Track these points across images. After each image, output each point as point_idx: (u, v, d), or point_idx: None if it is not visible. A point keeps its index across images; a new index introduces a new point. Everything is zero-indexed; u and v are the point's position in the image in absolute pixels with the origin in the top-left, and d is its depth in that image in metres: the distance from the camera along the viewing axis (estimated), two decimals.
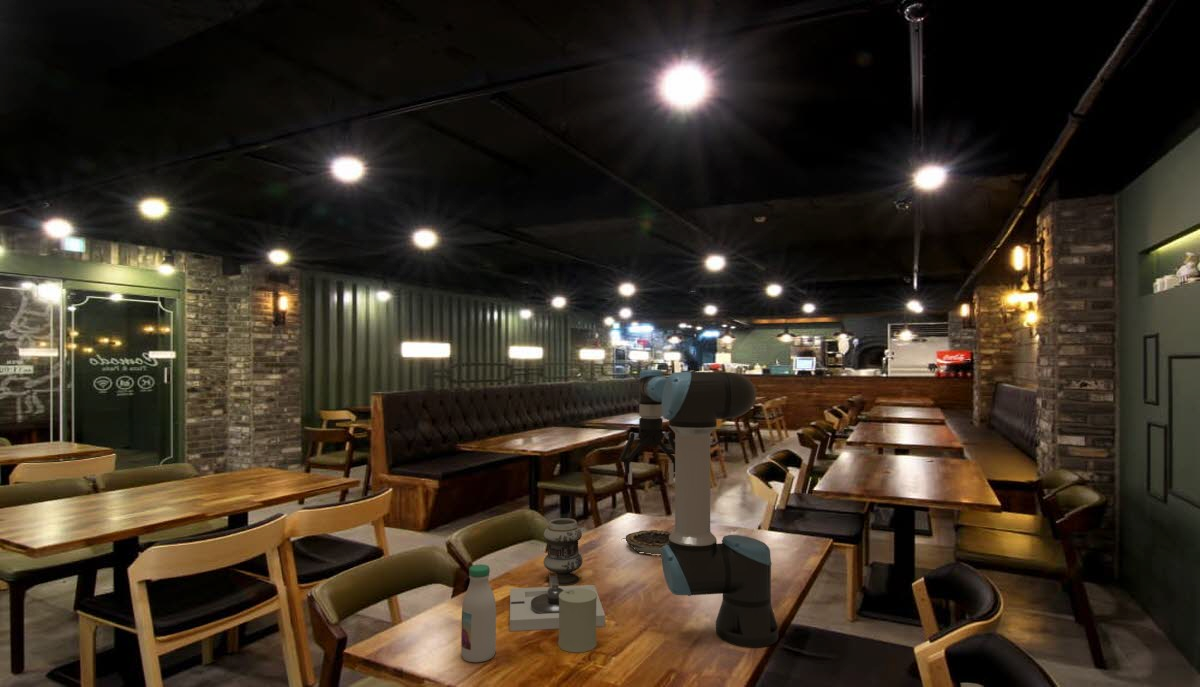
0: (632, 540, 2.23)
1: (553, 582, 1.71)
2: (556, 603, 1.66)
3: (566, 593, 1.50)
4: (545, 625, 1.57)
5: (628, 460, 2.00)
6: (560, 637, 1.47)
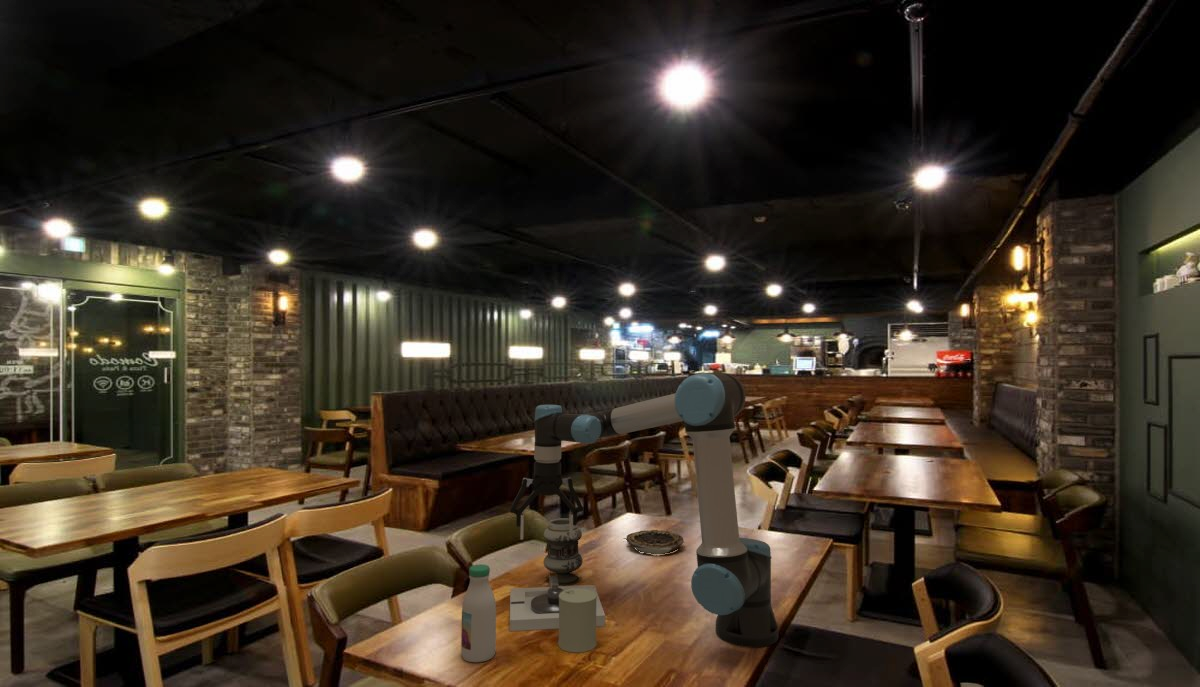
0: (633, 540, 2.23)
1: (553, 582, 1.71)
2: (556, 603, 1.66)
3: (566, 593, 1.50)
4: (545, 625, 1.57)
5: (519, 511, 1.71)
6: (560, 637, 1.47)
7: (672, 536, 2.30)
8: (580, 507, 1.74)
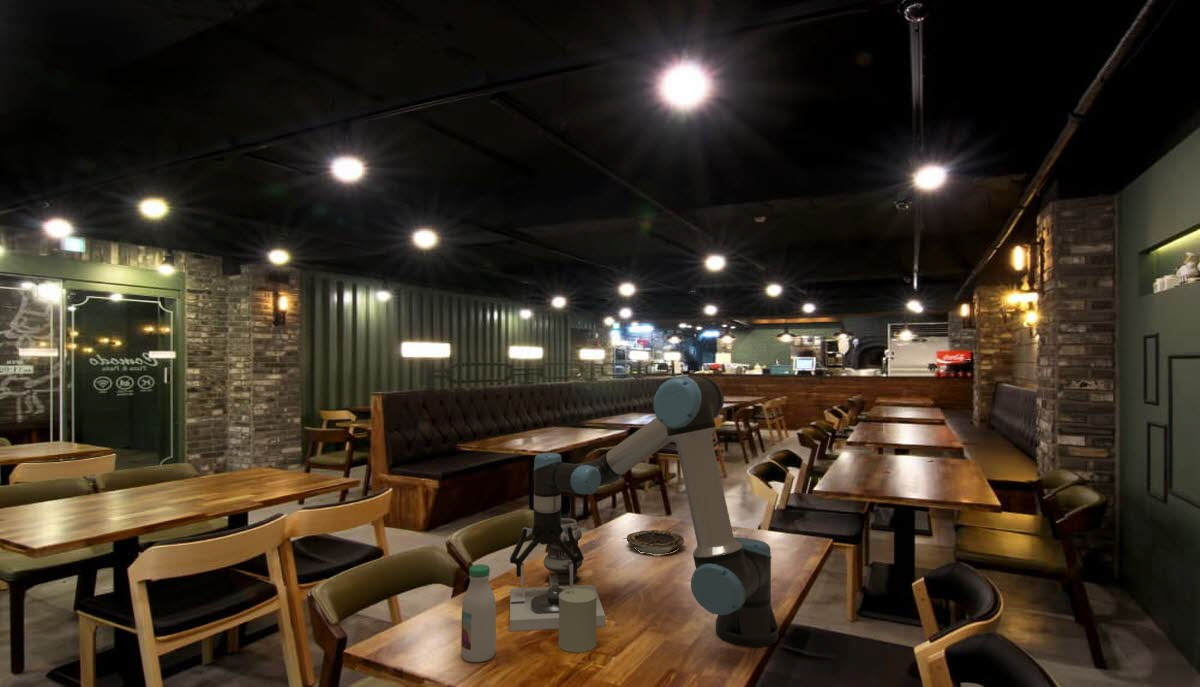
0: (633, 540, 2.23)
1: (553, 582, 1.71)
2: (556, 603, 1.66)
3: (566, 593, 1.50)
4: (545, 625, 1.57)
5: (519, 561, 1.71)
6: (560, 637, 1.47)
7: (672, 536, 2.30)
8: (580, 556, 1.73)
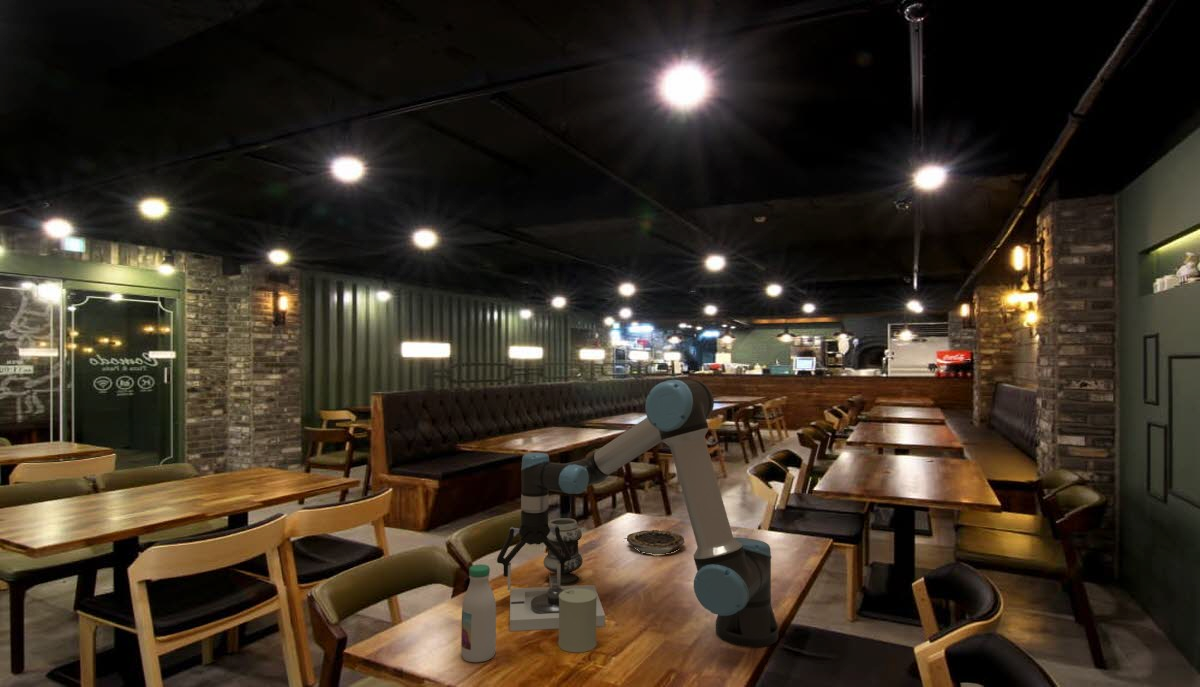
0: (633, 540, 2.23)
1: (553, 582, 1.71)
2: (556, 603, 1.66)
3: (566, 593, 1.50)
4: (545, 625, 1.57)
5: (506, 561, 1.71)
6: (560, 637, 1.47)
7: (673, 536, 2.30)
8: (567, 556, 1.73)
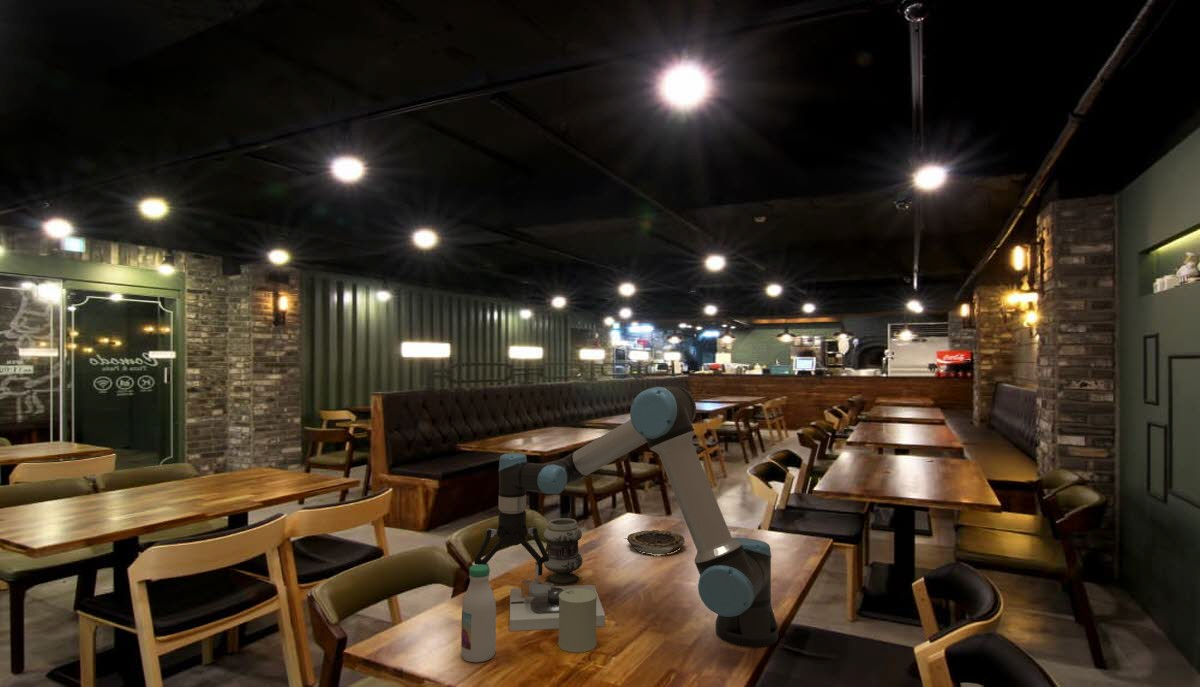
0: (634, 540, 2.23)
1: (547, 584, 1.69)
2: None
3: (566, 593, 1.50)
4: (545, 625, 1.57)
5: (483, 562, 1.70)
6: (560, 637, 1.47)
7: (673, 536, 2.29)
8: (545, 557, 1.72)
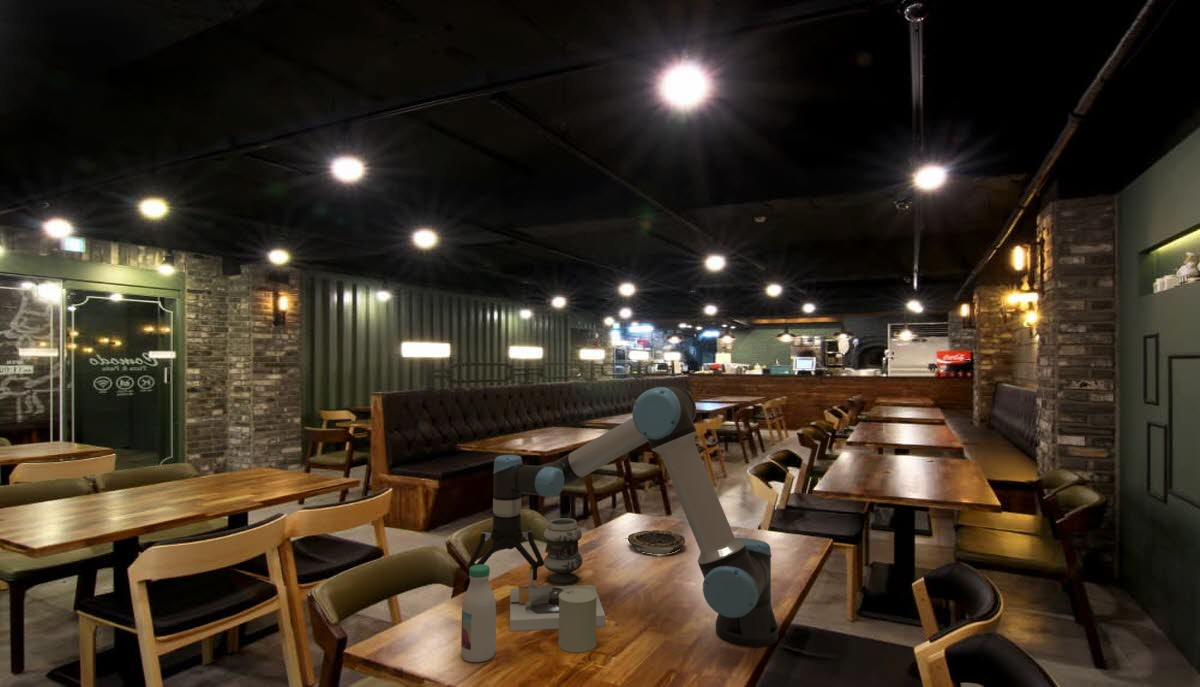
0: (634, 540, 2.23)
1: (547, 586, 1.67)
2: None
3: (566, 593, 1.50)
4: (545, 625, 1.57)
5: None
6: (560, 637, 1.47)
7: (674, 536, 2.29)
8: (540, 562, 1.68)
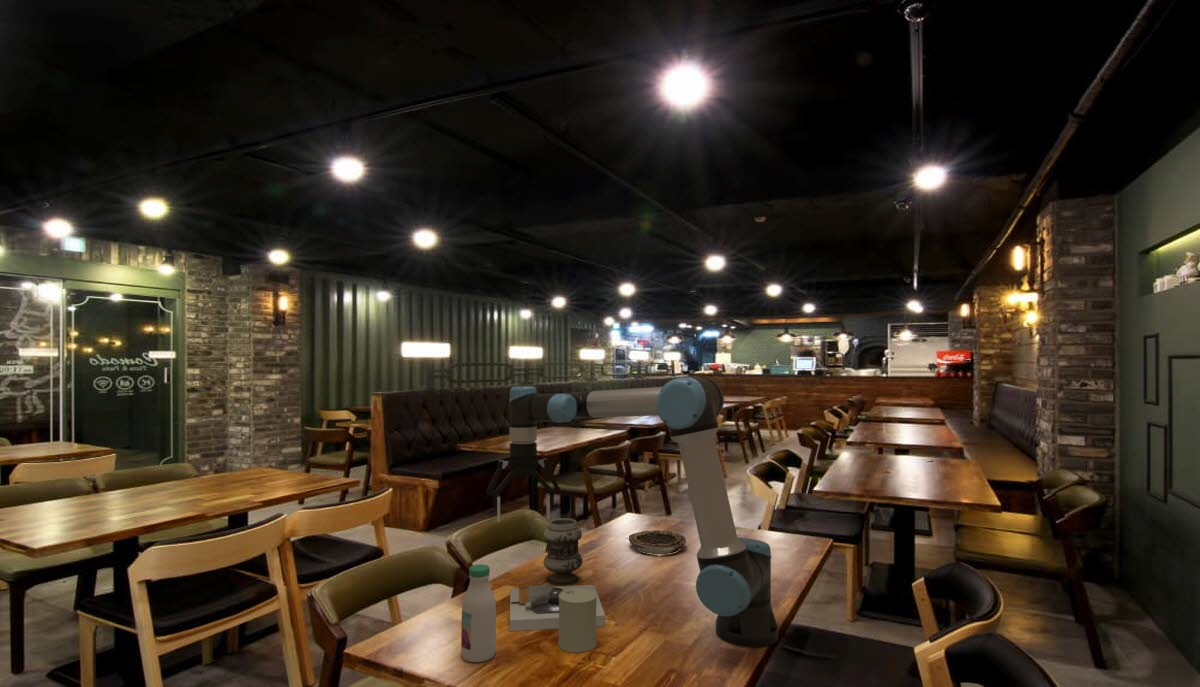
0: (635, 540, 2.23)
1: (547, 586, 1.67)
2: None
3: (566, 593, 1.50)
4: (545, 625, 1.57)
5: (495, 493, 1.71)
6: (560, 637, 1.47)
7: (674, 536, 2.29)
8: (557, 488, 1.73)
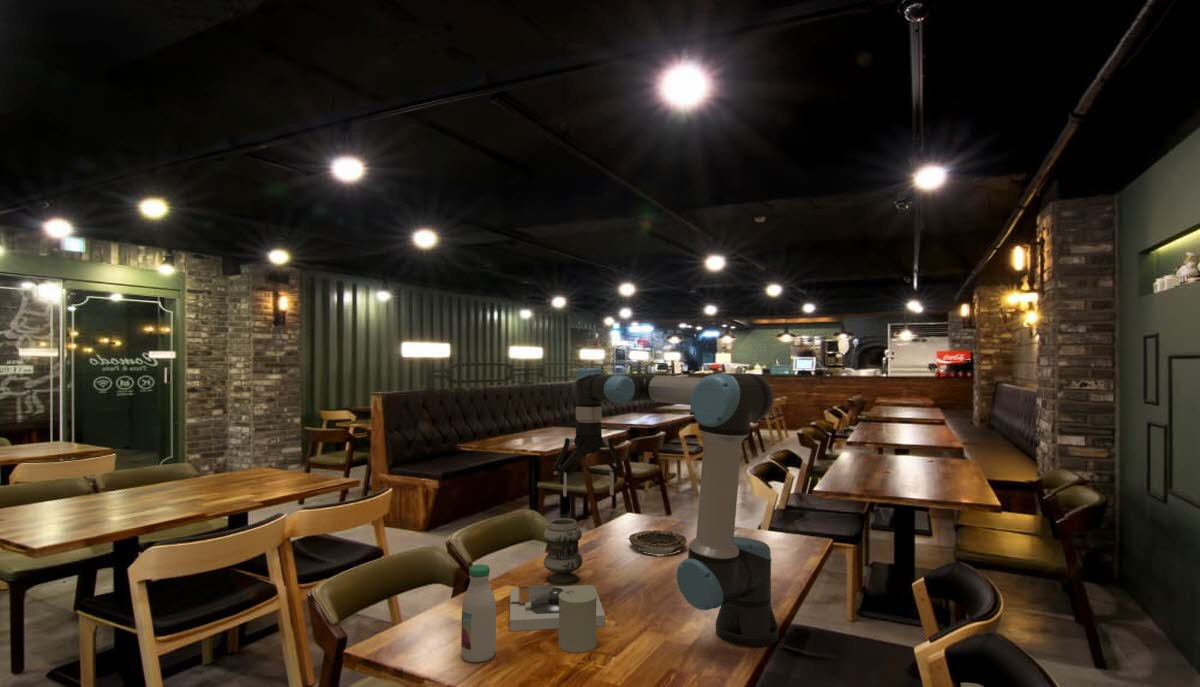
0: (636, 540, 2.23)
1: (547, 586, 1.67)
2: None
3: (566, 593, 1.50)
4: (545, 625, 1.57)
5: (562, 469, 1.78)
6: (560, 637, 1.47)
7: (675, 536, 2.29)
8: (620, 465, 1.81)
